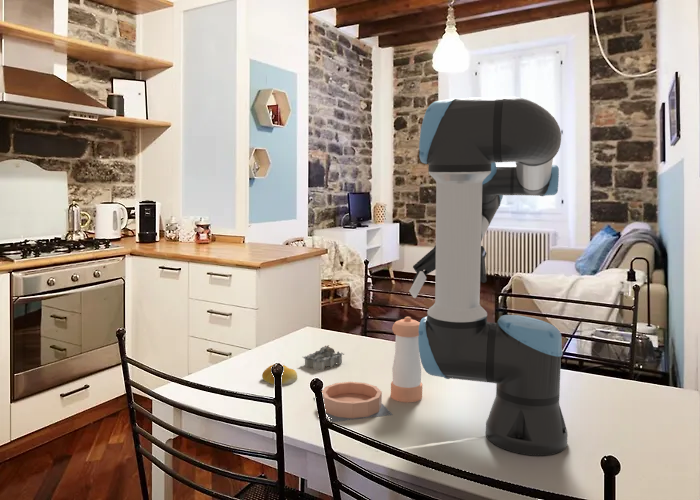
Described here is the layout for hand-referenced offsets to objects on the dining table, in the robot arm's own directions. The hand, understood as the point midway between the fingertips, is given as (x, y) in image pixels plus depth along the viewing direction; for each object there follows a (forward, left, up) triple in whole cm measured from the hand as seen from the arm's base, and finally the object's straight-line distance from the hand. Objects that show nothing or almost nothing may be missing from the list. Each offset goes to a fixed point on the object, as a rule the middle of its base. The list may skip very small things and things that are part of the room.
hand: (435, 298), depth 134 cm
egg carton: (+24, +21, -22) cm, 39 cm away
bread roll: (+14, +36, -22) cm, 44 cm away
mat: (-8, +24, -22) cm, 33 cm away
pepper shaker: (-6, +10, -22) cm, 25 cm away
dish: (-8, +24, -21) cm, 33 cm away
